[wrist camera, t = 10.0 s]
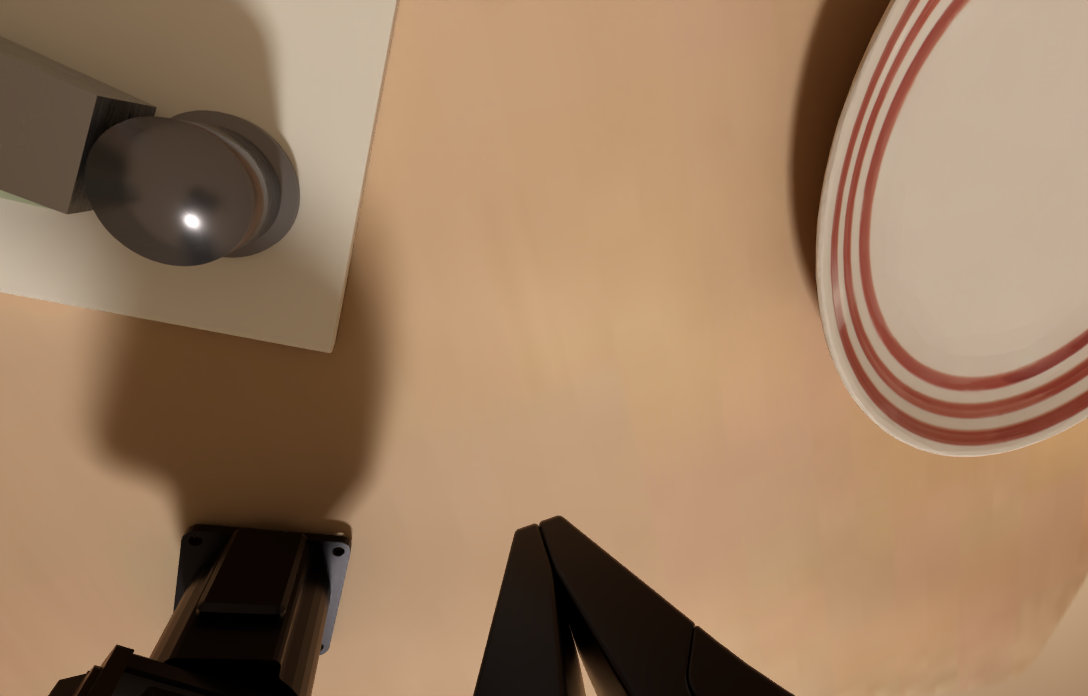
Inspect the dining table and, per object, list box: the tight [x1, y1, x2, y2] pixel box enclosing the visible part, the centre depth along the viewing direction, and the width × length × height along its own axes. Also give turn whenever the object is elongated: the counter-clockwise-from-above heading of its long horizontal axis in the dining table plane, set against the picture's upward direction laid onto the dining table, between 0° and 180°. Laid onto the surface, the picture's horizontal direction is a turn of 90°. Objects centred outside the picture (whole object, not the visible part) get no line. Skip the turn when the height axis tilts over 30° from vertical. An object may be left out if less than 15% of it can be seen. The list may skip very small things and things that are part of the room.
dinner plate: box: [816, 0, 1088, 457], centre depth 23 cm, size 28×27×3 cm
